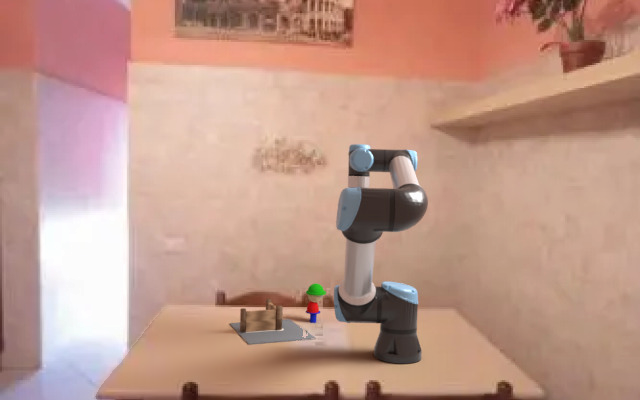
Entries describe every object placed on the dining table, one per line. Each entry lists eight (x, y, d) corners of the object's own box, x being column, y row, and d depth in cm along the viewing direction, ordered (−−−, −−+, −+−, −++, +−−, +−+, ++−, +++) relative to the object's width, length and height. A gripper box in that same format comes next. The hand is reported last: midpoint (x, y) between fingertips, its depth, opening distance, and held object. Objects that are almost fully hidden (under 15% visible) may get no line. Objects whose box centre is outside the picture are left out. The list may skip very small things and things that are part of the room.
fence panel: (274, 328, 210) (274, 306, 210) (275, 329, 208) (276, 307, 208) (239, 330, 205) (239, 308, 205) (240, 332, 203) (241, 309, 203)
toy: (325, 324, 221) (326, 285, 220) (304, 323, 221) (305, 285, 220) (325, 319, 229) (326, 282, 228) (305, 318, 229) (306, 281, 228)
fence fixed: (282, 331, 209) (283, 306, 209) (276, 331, 208) (277, 307, 208) (270, 320, 224) (270, 298, 223) (264, 321, 223) (264, 298, 222)
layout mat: (315, 338, 200) (315, 337, 200) (248, 344, 191) (248, 343, 191) (289, 319, 226) (289, 318, 226) (229, 324, 217) (229, 322, 217)
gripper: (377, 189, 202) (375, 255, 203) (341, 188, 204) (339, 253, 205) (376, 189, 195) (374, 258, 196) (338, 188, 197) (336, 256, 197)
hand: (356, 256), depth 200 cm, fingers closed
